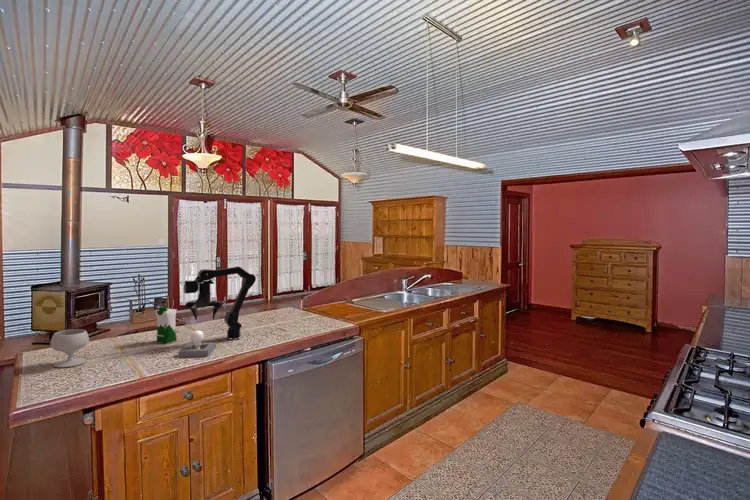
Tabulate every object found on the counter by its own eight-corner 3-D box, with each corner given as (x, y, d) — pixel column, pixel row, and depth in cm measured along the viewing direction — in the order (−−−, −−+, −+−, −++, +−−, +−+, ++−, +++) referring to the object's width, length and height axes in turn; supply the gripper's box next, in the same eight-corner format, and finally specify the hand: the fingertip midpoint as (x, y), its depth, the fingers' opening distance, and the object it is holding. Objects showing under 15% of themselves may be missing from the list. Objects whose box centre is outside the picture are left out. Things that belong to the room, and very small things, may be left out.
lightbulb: (189, 350, 199) (189, 329, 198) (203, 348, 202) (203, 328, 201) (191, 354, 193) (191, 332, 193) (204, 352, 196) (204, 331, 196)
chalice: (69, 370, 171) (68, 337, 170) (43, 367, 173) (42, 335, 173) (96, 359, 185) (96, 329, 184) (72, 357, 187) (71, 327, 186)
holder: (216, 348, 205) (216, 342, 205) (208, 356, 191) (208, 350, 191) (188, 348, 203) (188, 343, 203) (178, 357, 190) (178, 351, 189)
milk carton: (153, 342, 213) (153, 307, 213) (167, 338, 222) (167, 304, 221) (166, 344, 211) (165, 308, 210) (179, 340, 219) (178, 305, 218)
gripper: (181, 294, 204) (181, 323, 205) (217, 294, 207) (218, 322, 207) (189, 291, 216) (189, 318, 216) (223, 291, 218) (223, 318, 219)
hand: (204, 319), depth 214 cm, fingers open, 9 cm apart
